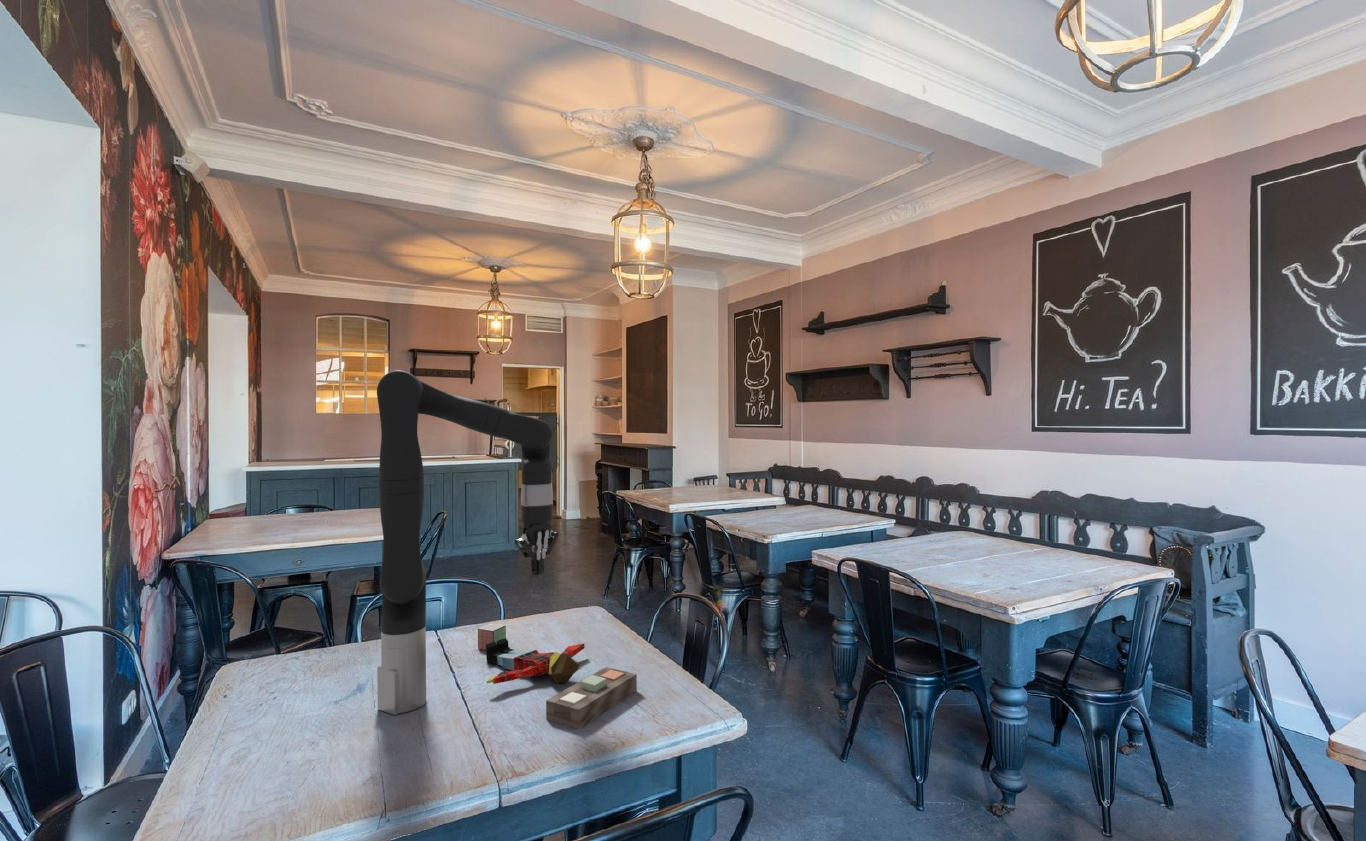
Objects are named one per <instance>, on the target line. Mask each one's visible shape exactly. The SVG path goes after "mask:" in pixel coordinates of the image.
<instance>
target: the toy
mask: <svg viewBox="0 0 1366 841" xmlns="http://www.w3.org/2000/svg"><path fill="white" fill-rule="evenodd" d="M585 648H586V647H585V643H580V644H579V643H578V644H574V645H568V646H567V647H566V648H565V650H564V651H562V653H559V652H558V651H553V652H539V651H538V649H535V650H530V649H528V648H527V649H526V648H525V649H514V648H513V649H512V648H511V647H509V640H508V639H507V637H506V638H504V639H501V640H498V641H497V644H496V642H492V643H489V644H486V650H485V651H486V652H485V654H486V664H488V665H492V664H493V665H498V666H501V667H502V669H505V671H501V672H499V673H498V674H497V675H494V676H493V677H491V678H489V679H488V680H486V684H490V683H492V684H493V685H495V684H501V683H506V682H512V681H515V680H518V679H521V678H523V679H524V678H528V677H533V676H534V677H537V678H538V677H540V676H542V675H544V674H548V675H549V676H550V677H551V678H552V679H553V680H554V681H555V682H556V683H559V684H566V683H568V682H569V681H570V679H571V678H572V676H573V675H574V674H576V672H577V671H579V669H580V666H581V665H580V663H579V662H577V661H576V660H575V659H574V658H573V657H575V656H577V655H578V654H579V653H580V652H581V651H582V650H584V649H585ZM506 670H508V671H506Z"/></svg>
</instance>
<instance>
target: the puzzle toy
mask: <svg viewBox="0 0 1366 841" xmlns="http://www.w3.org/2000/svg"><path fill="white" fill-rule="evenodd" d="M504 638H506V639H507V626H506V625H505V624H499V623H488V624H486V625H484V626H481V627H479V628H477V649H479V650H484V651H486V644H489V643H492V642H496V644H497V641H498V640H501V639H504Z"/></svg>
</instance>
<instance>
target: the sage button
mask: <svg viewBox="0 0 1366 841" xmlns="http://www.w3.org/2000/svg"><path fill="white" fill-rule="evenodd" d="M589 676H590V677H589ZM589 676H587V677H588V678H587V677H586V679H585V678H584V679H582V680H580V681H581V689H583V690H587V691H591V692H597V691H599V690H600V689H602V688H604V687H605V686H606V678H602V677H598V676H594V675H593V674H591V675H589Z"/></svg>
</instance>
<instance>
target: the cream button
mask: <svg viewBox="0 0 1366 841" xmlns="http://www.w3.org/2000/svg"><path fill="white" fill-rule="evenodd" d="M585 698H586V696H585V695H582V694H578V693H574V692H571V693H569V694H567V695H566V696H564V697H562V698H560V701H561V702H565V703H569V704H572V705H575V704H577V703H579V702H580V701H582V700H584V699H585Z"/></svg>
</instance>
